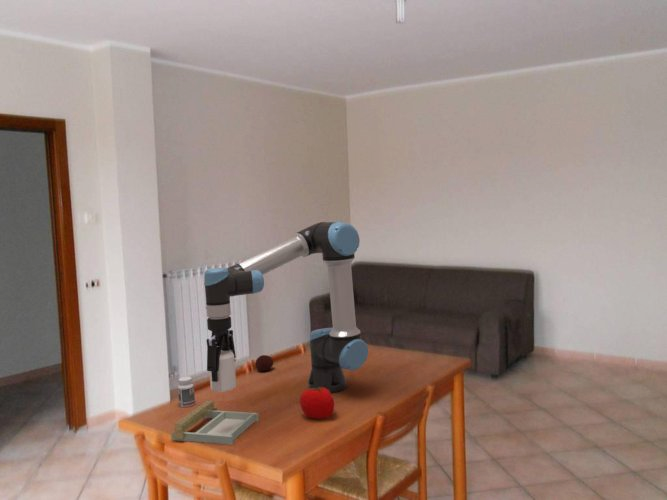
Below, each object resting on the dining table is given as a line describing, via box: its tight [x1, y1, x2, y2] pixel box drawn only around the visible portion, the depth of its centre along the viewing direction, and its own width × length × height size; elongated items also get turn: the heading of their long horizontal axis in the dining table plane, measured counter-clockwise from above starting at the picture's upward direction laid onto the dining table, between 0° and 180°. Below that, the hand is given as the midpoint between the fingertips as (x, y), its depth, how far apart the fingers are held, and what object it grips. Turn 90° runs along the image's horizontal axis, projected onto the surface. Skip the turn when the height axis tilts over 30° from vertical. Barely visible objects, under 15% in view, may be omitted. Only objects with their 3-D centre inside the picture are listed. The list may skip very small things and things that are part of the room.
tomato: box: [299, 387, 335, 420], centre depth 198 cm, size 11×13×10 cm
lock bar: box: [171, 400, 218, 439], centre depth 193 cm, size 4×23×4 cm, turn 164°
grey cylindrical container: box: [208, 350, 237, 393], centre depth 188 cm, size 8×8×12 cm
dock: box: [170, 410, 259, 446], centre depth 191 cm, size 21×20×2 cm
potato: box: [255, 354, 274, 372], centre depth 256 cm, size 7×8×7 cm
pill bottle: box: [177, 376, 196, 408], centre depth 216 cm, size 6×6×10 cm
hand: (223, 386), depth 189 cm, fingers closed on grey cylindrical container, 8 cm apart
